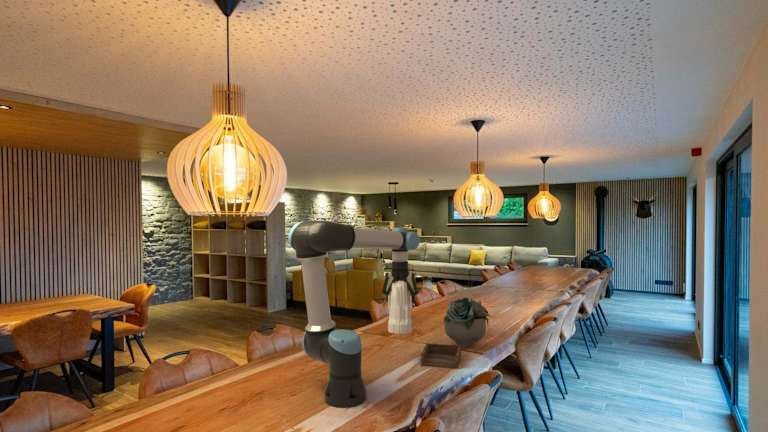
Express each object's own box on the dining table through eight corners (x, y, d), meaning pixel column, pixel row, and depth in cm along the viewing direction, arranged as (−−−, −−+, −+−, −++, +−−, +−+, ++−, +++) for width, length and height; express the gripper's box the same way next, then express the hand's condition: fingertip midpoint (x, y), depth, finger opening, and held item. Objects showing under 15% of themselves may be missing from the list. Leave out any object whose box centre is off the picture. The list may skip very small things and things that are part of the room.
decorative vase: (409, 334, 181) (409, 277, 181) (386, 333, 183) (386, 277, 183) (413, 328, 191) (412, 275, 192) (390, 327, 193) (390, 274, 194)
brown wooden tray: (458, 368, 176) (458, 357, 176) (420, 365, 180) (420, 354, 180) (461, 356, 192) (461, 345, 192) (426, 353, 196) (426, 343, 196)
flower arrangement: (500, 349, 202) (499, 299, 203) (456, 355, 194) (455, 303, 194) (473, 336, 226) (472, 292, 226) (432, 341, 217) (432, 295, 218)
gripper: (425, 260, 189) (425, 309, 188) (379, 259, 194) (379, 306, 194) (422, 261, 181) (422, 312, 181) (374, 260, 187) (374, 310, 186)
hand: (400, 309), depth 187 cm, fingers closed on decorative vase, 9 cm apart
